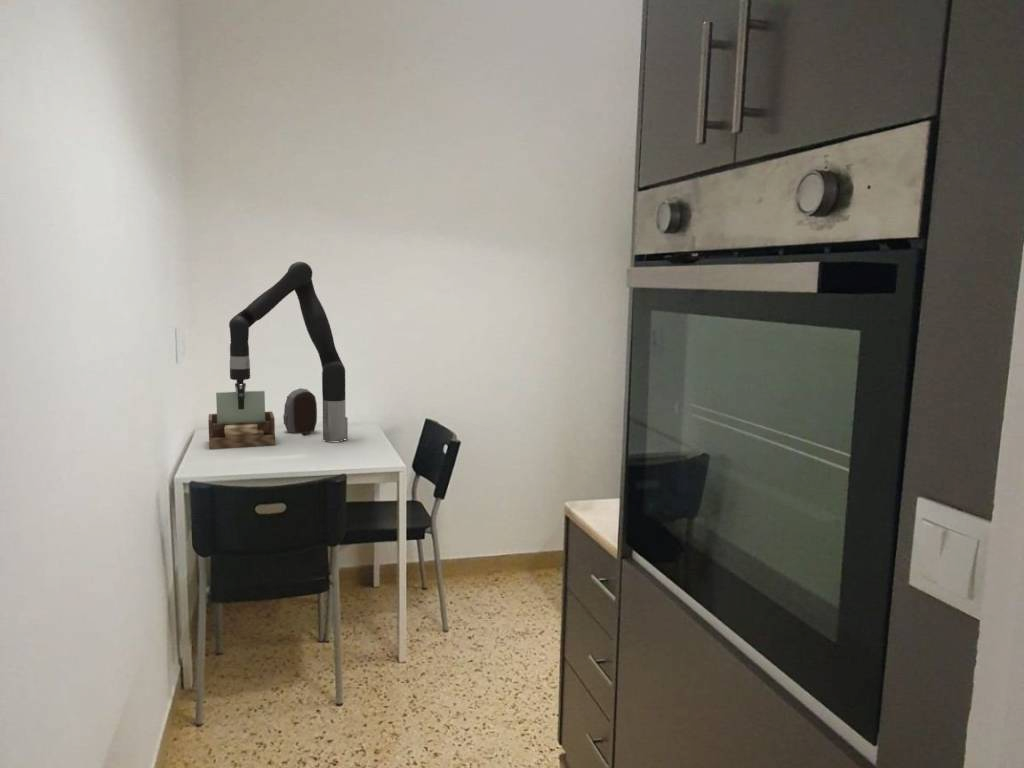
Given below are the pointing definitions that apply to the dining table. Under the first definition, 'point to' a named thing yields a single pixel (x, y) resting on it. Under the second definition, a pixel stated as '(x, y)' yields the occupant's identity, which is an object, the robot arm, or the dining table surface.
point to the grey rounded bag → (300, 412)
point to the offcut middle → (259, 433)
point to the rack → (220, 442)
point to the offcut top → (241, 429)
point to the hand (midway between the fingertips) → (240, 407)
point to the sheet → (250, 413)
